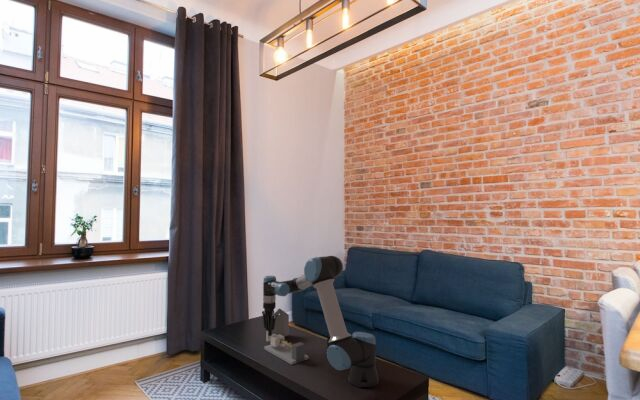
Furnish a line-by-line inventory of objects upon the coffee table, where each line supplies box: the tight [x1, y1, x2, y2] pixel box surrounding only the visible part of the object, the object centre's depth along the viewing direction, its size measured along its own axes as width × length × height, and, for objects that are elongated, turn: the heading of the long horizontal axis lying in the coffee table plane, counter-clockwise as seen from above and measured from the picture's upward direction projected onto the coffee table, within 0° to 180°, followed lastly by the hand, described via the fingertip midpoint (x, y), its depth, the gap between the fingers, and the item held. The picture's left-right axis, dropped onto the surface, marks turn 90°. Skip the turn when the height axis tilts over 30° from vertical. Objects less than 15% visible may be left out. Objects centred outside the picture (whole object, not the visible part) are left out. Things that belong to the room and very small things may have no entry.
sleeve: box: [270, 334, 286, 347], centre depth 214 cm, size 5×7×4 cm
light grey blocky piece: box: [263, 334, 310, 366], centre depth 209 cm, size 28×12×9 cm, turn 41°
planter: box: [272, 308, 290, 337], centre depth 237 cm, size 16×8×19 cm, turn 134°
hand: (268, 340), depth 216 cm, fingers closed
